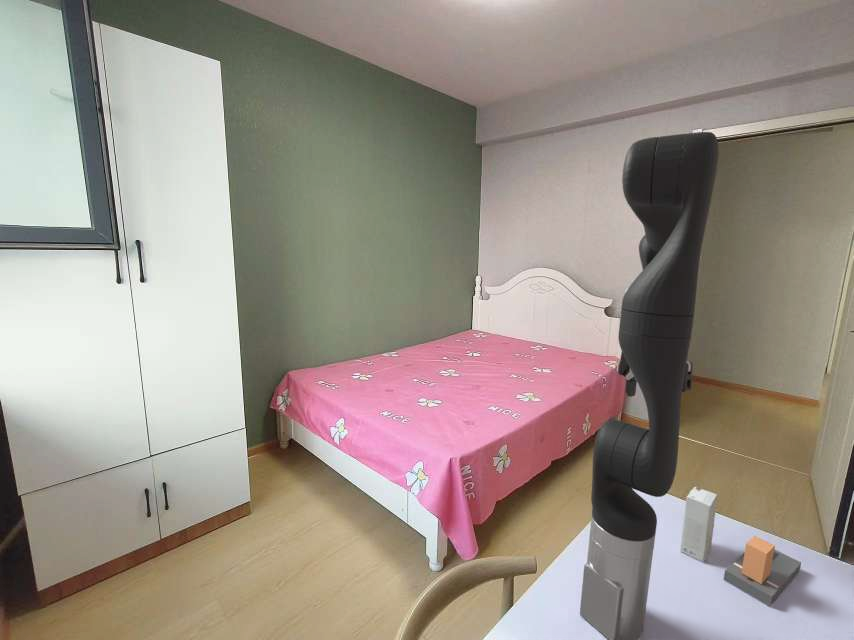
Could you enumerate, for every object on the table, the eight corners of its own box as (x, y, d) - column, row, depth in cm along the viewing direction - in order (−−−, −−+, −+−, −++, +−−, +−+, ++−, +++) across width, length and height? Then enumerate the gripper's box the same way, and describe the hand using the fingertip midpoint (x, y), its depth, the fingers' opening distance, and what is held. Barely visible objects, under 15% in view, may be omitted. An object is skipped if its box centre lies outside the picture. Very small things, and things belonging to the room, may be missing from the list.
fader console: (770, 607, 70) (771, 596, 70) (723, 579, 76) (724, 569, 76) (799, 571, 78) (801, 562, 78) (755, 549, 84) (757, 540, 84)
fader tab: (761, 584, 72) (766, 553, 71) (741, 572, 75) (746, 543, 74) (769, 574, 74) (775, 545, 73) (750, 564, 77) (755, 535, 76)
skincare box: (704, 563, 80) (712, 507, 78) (678, 551, 83) (685, 496, 81) (711, 548, 84) (719, 494, 82) (686, 537, 87) (694, 485, 85)
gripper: (616, 324, 89) (609, 395, 92) (686, 336, 78) (675, 416, 80) (635, 322, 93) (628, 389, 96) (704, 332, 82) (694, 409, 84)
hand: (649, 401), depth 88 cm, fingers open, 8 cm apart
